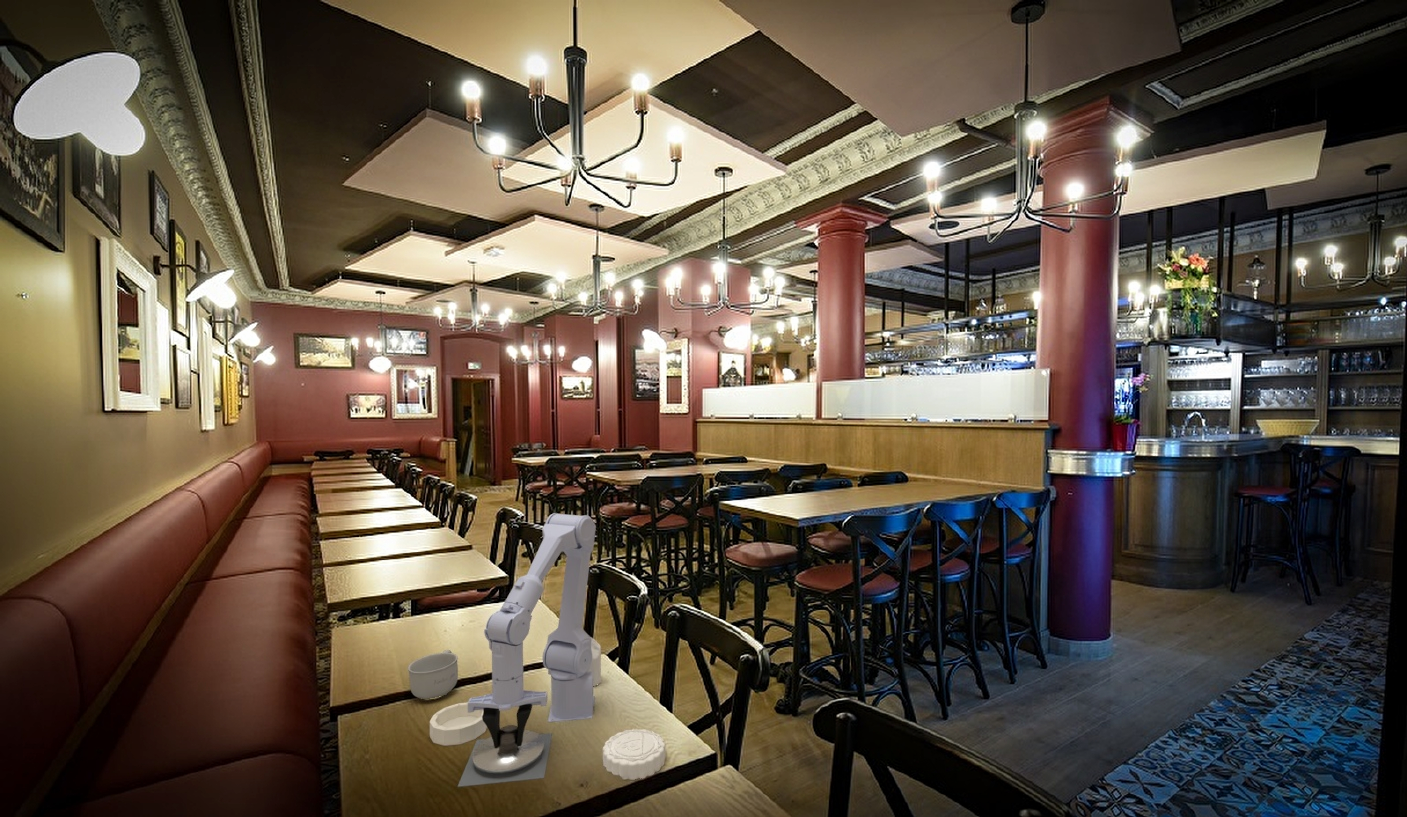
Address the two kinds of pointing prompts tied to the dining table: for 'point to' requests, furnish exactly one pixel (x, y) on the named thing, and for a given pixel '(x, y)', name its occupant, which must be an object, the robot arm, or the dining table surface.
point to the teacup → (433, 675)
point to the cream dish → (456, 725)
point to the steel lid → (508, 751)
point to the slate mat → (527, 773)
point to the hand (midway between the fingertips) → (508, 744)
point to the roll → (595, 662)
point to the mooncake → (634, 754)
